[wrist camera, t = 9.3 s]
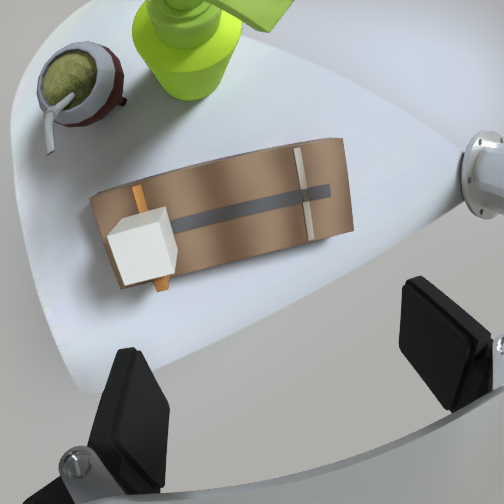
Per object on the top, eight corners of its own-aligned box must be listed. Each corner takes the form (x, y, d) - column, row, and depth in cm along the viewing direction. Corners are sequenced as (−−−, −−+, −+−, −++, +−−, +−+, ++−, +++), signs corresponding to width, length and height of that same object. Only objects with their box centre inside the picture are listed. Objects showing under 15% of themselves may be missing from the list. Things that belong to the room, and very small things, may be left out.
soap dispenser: (211, 117, 27) (239, 75, 9) (147, 84, 25) (63, 0, 6) (244, 66, 26) (326, -38, 7) (181, 33, 24) (165, -104, 5)
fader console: (329, 137, 29) (355, 139, 24) (341, 222, 33) (365, 238, 28) (99, 192, 27) (79, 204, 22) (126, 276, 31) (115, 302, 26)
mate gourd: (87, 49, 22) (11, -4, 8) (155, 74, 25) (118, 19, 11) (53, 118, 24) (-44, 116, 10) (119, 146, 26) (50, 158, 13)
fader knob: (165, 206, 26) (158, 221, 21) (177, 249, 27) (174, 273, 23) (121, 218, 26) (106, 236, 21) (135, 260, 27) (124, 285, 22)
